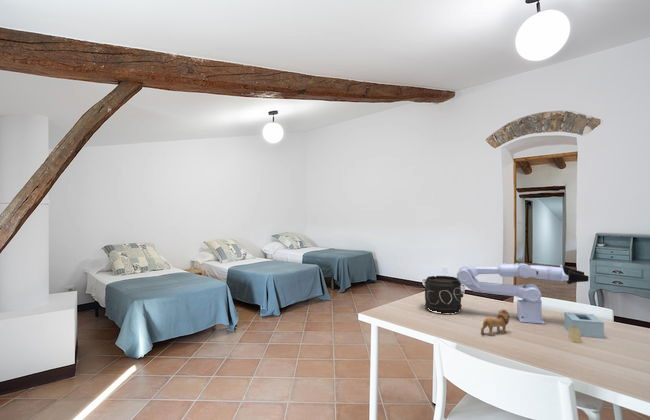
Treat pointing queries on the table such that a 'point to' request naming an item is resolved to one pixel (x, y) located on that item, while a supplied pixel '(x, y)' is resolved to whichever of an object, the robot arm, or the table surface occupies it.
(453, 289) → the black lettered canister
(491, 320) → the lion figurine
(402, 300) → the table surface
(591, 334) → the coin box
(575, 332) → the tan rectangular block
